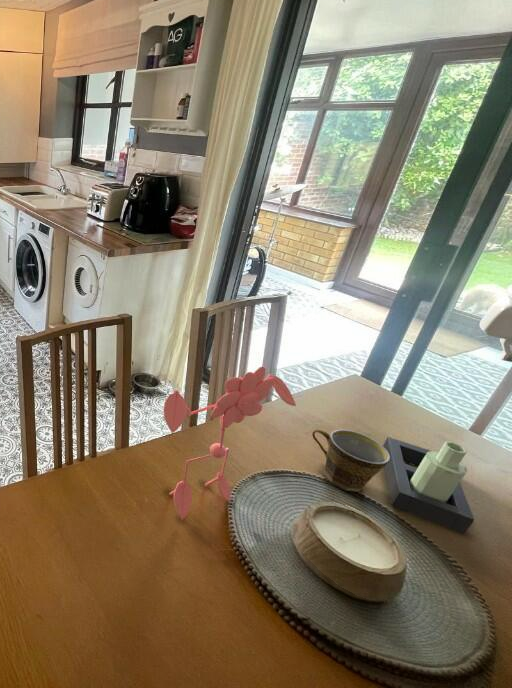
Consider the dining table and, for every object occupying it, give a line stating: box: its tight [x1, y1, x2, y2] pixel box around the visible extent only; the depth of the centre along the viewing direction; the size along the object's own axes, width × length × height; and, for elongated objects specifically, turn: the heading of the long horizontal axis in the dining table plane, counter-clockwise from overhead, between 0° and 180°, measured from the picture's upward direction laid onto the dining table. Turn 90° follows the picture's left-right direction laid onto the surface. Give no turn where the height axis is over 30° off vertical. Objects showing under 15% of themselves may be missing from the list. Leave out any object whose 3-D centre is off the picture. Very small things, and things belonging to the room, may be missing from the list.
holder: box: [382, 436, 475, 534], centre depth 89 cm, size 11×20×4 cm, turn 145°
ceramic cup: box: [311, 429, 390, 493], centre depth 90 cm, size 13×10×10 cm
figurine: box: [144, 365, 297, 551], centre depth 75 cm, size 15×26×35 cm, turn 106°
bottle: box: [409, 441, 468, 503], centre depth 83 cm, size 6×6×15 cm
